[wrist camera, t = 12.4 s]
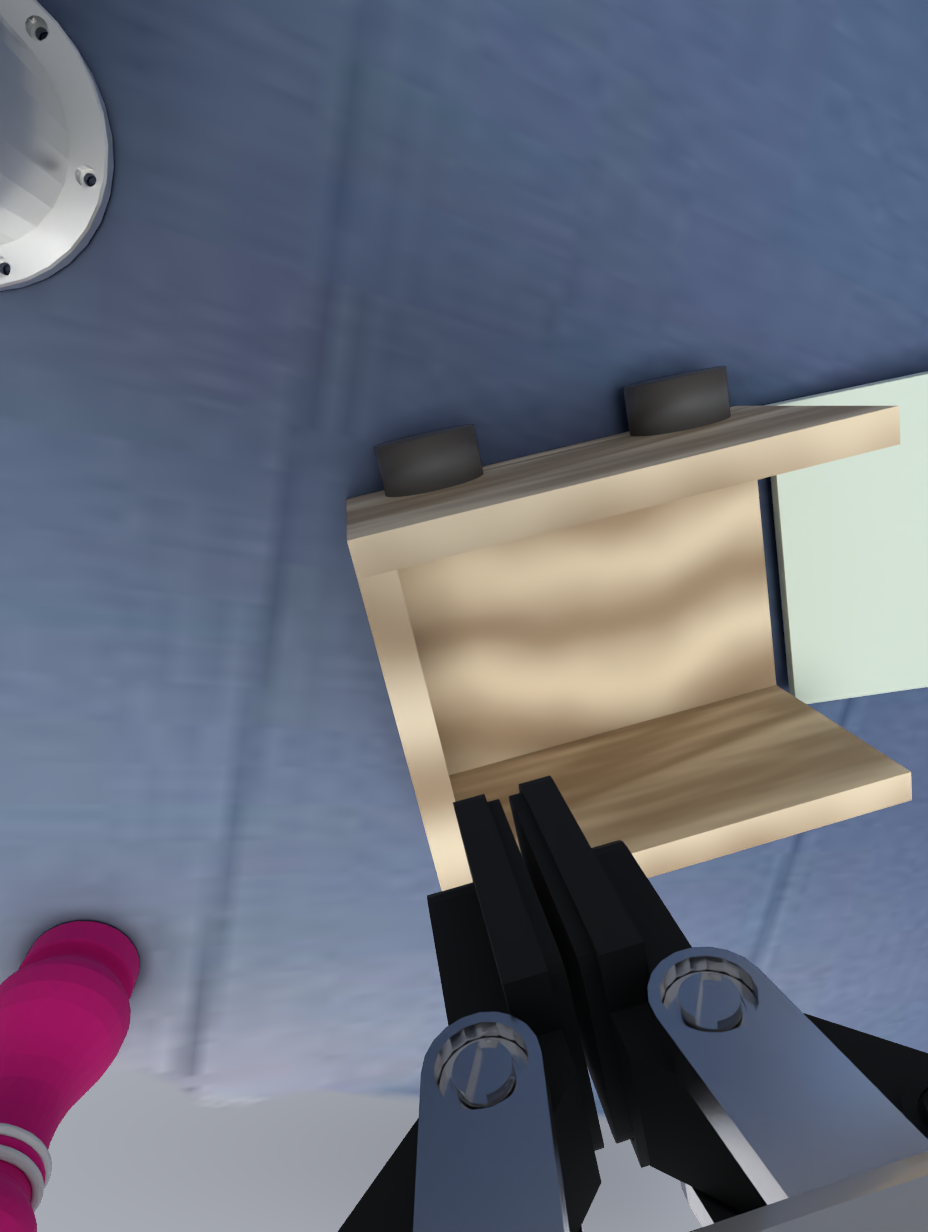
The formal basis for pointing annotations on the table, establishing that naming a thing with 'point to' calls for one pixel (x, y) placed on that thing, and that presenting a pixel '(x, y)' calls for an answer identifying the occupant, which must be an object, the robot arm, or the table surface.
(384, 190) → the table surface
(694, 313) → the table surface
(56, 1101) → the pepper mill
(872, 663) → the panel
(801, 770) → the truck bed
